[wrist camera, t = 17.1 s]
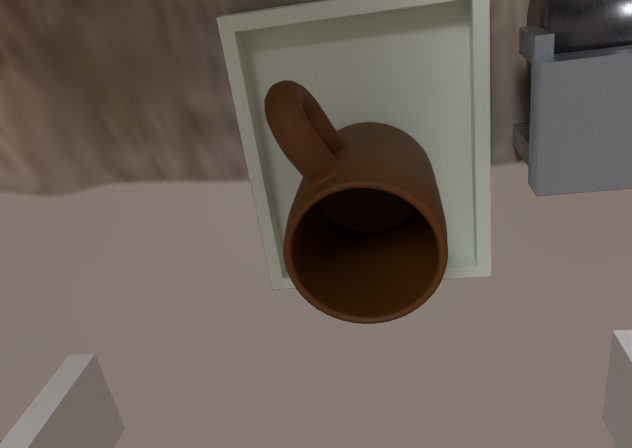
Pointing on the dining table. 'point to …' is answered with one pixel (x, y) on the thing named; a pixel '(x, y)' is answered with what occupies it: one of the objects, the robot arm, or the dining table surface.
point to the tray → (372, 101)
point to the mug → (357, 212)
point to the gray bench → (578, 96)
